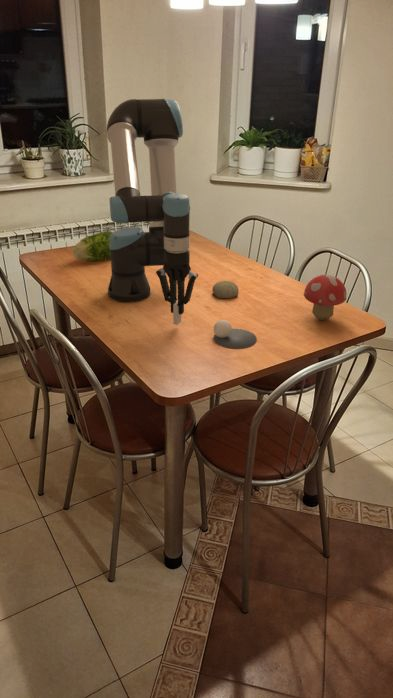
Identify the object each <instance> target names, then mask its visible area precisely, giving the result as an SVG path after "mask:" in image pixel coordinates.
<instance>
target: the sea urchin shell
mask: <svg viewBox="0 0 393 698" xmlns="http://www.w3.org/2000/svg"><path fill="white" fill-rule="evenodd" d="M212 293H213V295H215V297H217V298H219V299H231V298H235V297H236V296H238V294H239V287H238V285H237V284H236V283H235V282H232V281H231V280H221V281H218V282H216V283H214V285H213V286H212Z"/></svg>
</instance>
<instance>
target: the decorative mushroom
mask: <svg viewBox="0 0 393 698" xmlns="http://www.w3.org/2000/svg"><path fill="white" fill-rule="evenodd" d="M303 296H304V299H306V301H308V302H309V303H311V304H313V305H312V311H311V313H312V315H313V316H314V317H315V318H316V319H318V320H320V321H325V320H329V319H330V318H331V317H333V315H334V311H335V310H334V309H335V306H339V305H341V304H344V303H345V301H346V300H347V289H346V287H345V284H344V283H343V281H342V280H340V279H339V278H338V277H336V276H334V275H332V274H320V275H316V276H315V277H313V278H312V279H311V280H310V281H309V282H308V283H307V284H306V286H305V288H304V292H303Z"/></svg>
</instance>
